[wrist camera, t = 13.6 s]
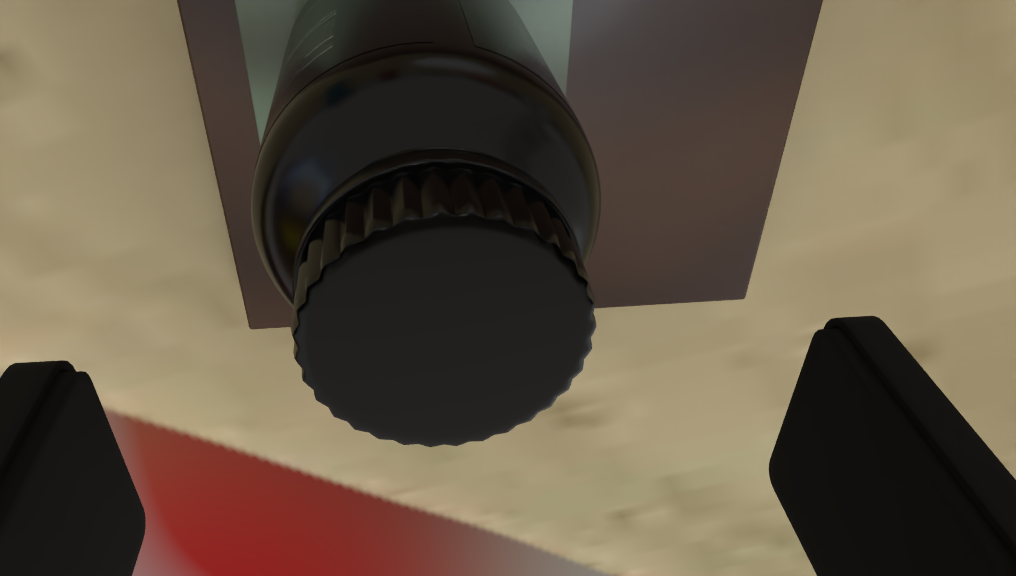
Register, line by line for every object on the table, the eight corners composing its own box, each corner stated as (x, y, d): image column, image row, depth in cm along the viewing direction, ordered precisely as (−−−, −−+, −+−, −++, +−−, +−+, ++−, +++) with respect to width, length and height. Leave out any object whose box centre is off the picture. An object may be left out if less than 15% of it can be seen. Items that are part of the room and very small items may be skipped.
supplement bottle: (359, 213, 24) (343, 536, 14) (239, 5, 20) (100, 258, 10) (564, 130, 23) (696, 410, 13) (482, -102, 19) (587, 58, 9)
